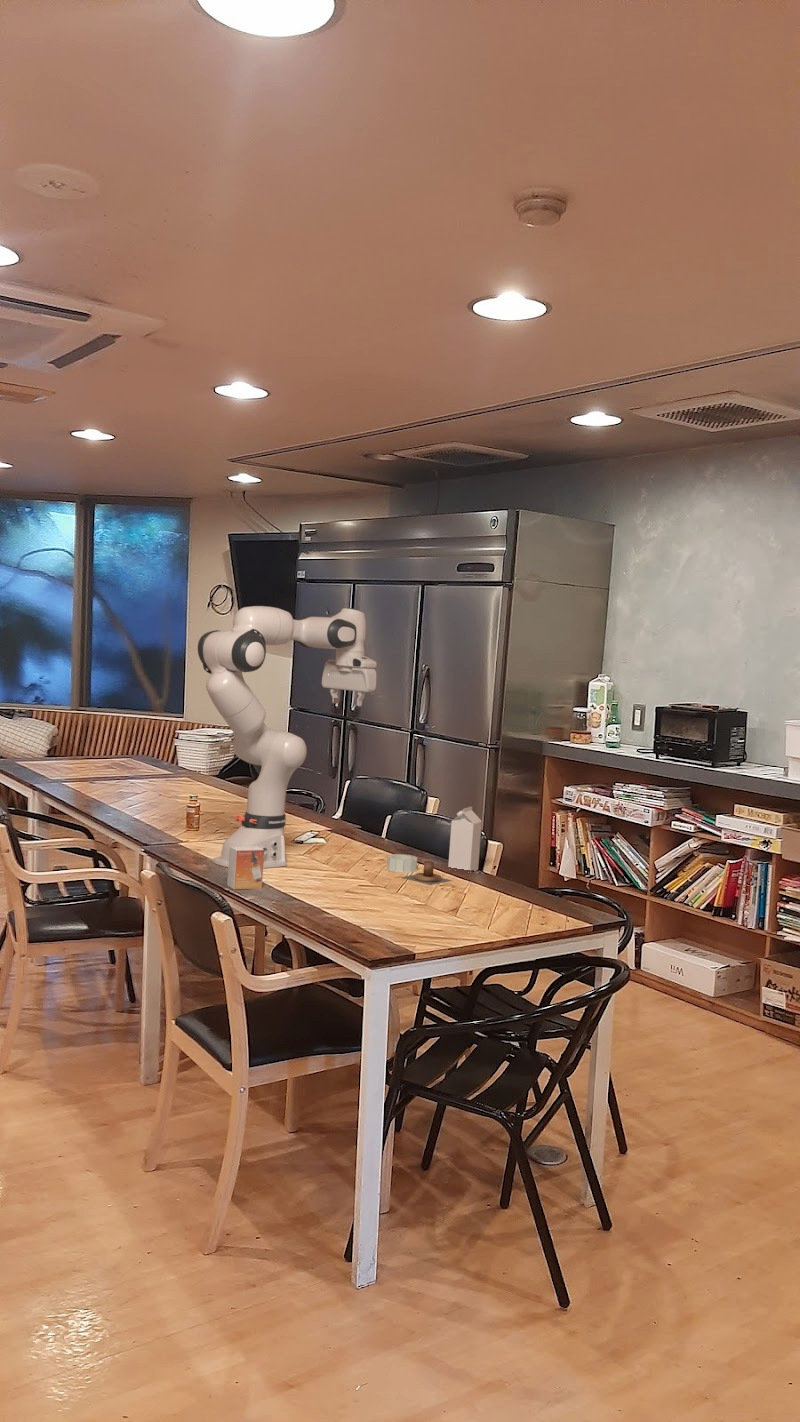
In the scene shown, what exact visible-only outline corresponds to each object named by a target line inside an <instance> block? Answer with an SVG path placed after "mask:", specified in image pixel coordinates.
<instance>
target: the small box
mask: <svg viewBox="0 0 800 1422" xmlns="http://www.w3.org/2000/svg"><path fill="white" fill-rule="evenodd" d="M263 865H264V849H262V848H260V847H258V846H247V847H230V850H229V865H228V867H227V868H228V869H227V881H226V882H227V883H226V884H227V886H228V887H229V888H231V889H232V890H262V889H263V880H264V877H263V876H264V868H263Z"/></svg>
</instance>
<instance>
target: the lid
mask: <svg viewBox="0 0 800 1422" xmlns="http://www.w3.org/2000/svg"><path fill="white" fill-rule="evenodd" d="M434 867H435V862H434V861H431V860H425V861H423V872H417V873H415V874H414V875H415V879H416V880H418V881H422V882H440V881H441V878H442V876H441V875H440V874H436V873H434V869H435V868H434Z"/></svg>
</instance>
